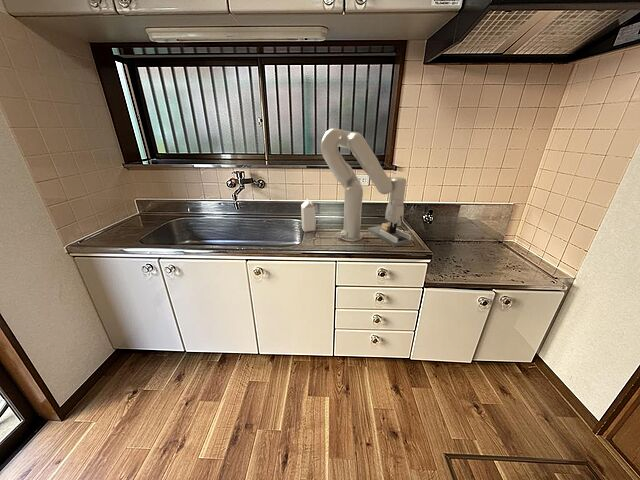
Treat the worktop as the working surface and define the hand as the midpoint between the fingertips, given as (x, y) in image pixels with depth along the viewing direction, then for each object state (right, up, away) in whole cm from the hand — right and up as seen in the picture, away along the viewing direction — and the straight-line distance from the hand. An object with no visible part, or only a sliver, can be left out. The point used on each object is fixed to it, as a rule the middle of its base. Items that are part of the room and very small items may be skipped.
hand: (392, 232), depth 144 cm
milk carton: (-48, +2, +16) cm, 51 cm away
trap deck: (-1, -2, +4) cm, 5 cm away
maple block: (-2, 0, +5) cm, 5 cm away
